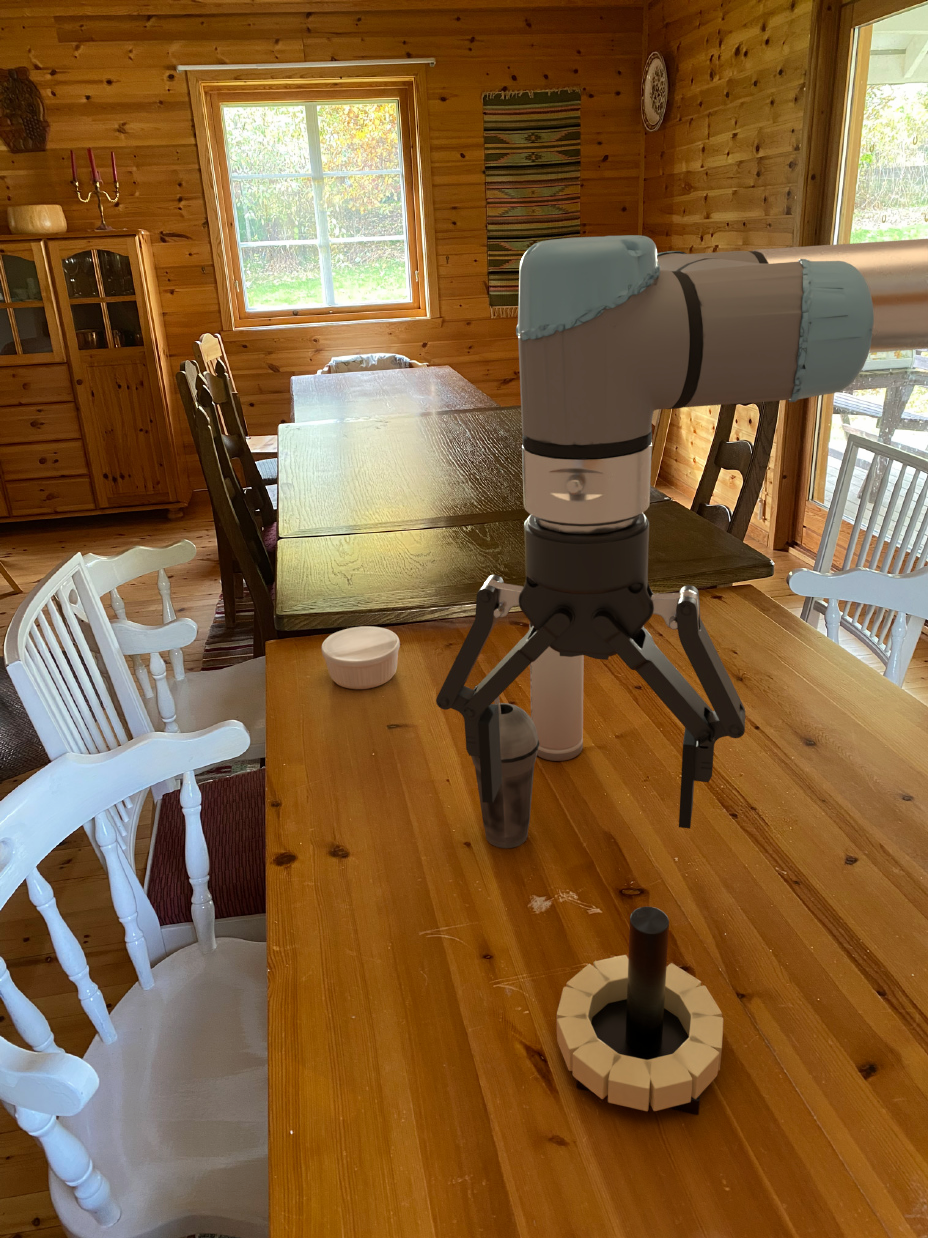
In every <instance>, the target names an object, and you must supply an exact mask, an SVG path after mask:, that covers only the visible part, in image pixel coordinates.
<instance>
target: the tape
mask: <svg viewBox="0 0 928 1238" xmlns="http://www.w3.org/2000/svg"><path fill="white" fill-rule="evenodd" d="M628 958H629V957H628V955H626V954H622V955H619V956H613V957H609V958H604V959H599V960H596V961H595V960H594V961H593V965H592V964H590V963H589V964H587V965H586V966H584V968H582V969H581V970H580V971H579V972H577V974H575V975H574V976H573V977H571V979H569V980H568V981H567V982H566V986H563V987H562V991H561V996H560V999H559V1002H558V1003H559V1004H558V1008H557V1010H556V1041H557V1044H558V1047H559V1049H560V1052H561V1055H562V1057H563V1060H564V1063H565V1064H566V1068H567V1070H568V1072H572V1077H573V1078H575V1080H576V1081H577V1080H579V1081H580V1082H581V1083H582V1084H584V1085H585V1086H586V1087H587V1088H589V1089H590V1090H591V1091H590V1092H592V1093H594V1094H595V1095H596V1096H597V1097H598V1098H600V1099H601V1100H604V1099H605V1098H606V1097H607V1103H609V1104H614V1105H617V1106H623V1107H627V1108H630V1109H635V1110H639V1111H644V1112H648V1111H649V1106H651V1108H652V1110H653V1112H657V1111H662V1110H665V1109H670V1108H669V1107H673V1106H677V1105H681V1104H685V1103H689V1102H691V1097H693V1098H694V1099H696V1098H697V1097H698V1096H699V1095H700V1096H701V1094H702V1093H703V1092H704V1091H705V1090H706V1089H707V1088H708V1087H709V1085H710V1084H711V1083H712V1082H713V1081H714V1080H715V1079H716V1078H717V1077H718V1074H719V1071H721V1062H722V1061H721V1060H722V1051H723V1050H722V1049H723V1037H724V1036H723V1034H724V1017H723V1012H722V1011H721V1009H720V1008H719V1006H718V1004H717V1002H716V1001H715V999H714V998H713V996H712V994H711V993H710V991H709V990H708V988H707V986H706V985H702V981H701V980H699V979H698V978H696V977H694V975H691V973H688V972H687V971H685V970H684V969H682V968H680V967H679V966H677V965H676V964H674V963H673V962H670V963H669V964H668V965H667V967H666V984H665V1000H664V1008H665V1009H666V1010H668V1011H669V1012H671V1013H672V1014H674V1015H675V1016H677V1017H678V1018H679V1020H680V1022H681V1023H682V1025H683V1027H684V1029H685V1031H686V1032H687V1034H688V1036H689V1038H688V1039H687V1040H686V1041H685V1042H684V1043H683V1044H682V1045H681V1046H680V1047H679V1048H678V1049H677V1050H676V1051H675V1052H674V1053H673V1054H670V1055H666V1056H662V1057H658V1058H654V1059H649V1060H645V1059H640V1058H635V1057H631V1056H626V1055H621V1054H618V1053H617V1052H616V1051H614V1050H613V1049H611V1048H610V1047H609V1046H607V1045H606V1044H605V1043H603V1042H602V1041H601V1040H599V1039H598V1038H597V1036H596V1034H595V1031H594V1029H593V1027H592V1025H591V1021H592V1017H593V1016H594V1015H596V1014H597V1013H598V1012H599V1011H600V1010H601V1009H602V1008H603V1007H604V1006H606V1005H607V1004H608V1003H611V1002H616V1001H620V1000H625V999H627V984H628ZM649 1102H650V1104H649Z"/></svg>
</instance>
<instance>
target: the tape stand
mask: <svg viewBox="0 0 928 1238" xmlns="http://www.w3.org/2000/svg"><path fill="white" fill-rule="evenodd" d="M628 933H629V934H628V957H627V958H628V984H627V999H625V1000H620V1001H616V1002H611V1003H608V1004H607V1005H606V1006H604V1007H603V1008H602V1009H601V1010H600V1011H599V1012H598V1013H597V1014H596V1015H594V1016H593V1017H592V1021H591V1025H592V1027H593V1029H594V1031H595V1034H596V1036H597V1038H598V1039H599V1040H601V1041H602V1042H603V1043H605V1044H606V1045H607V1046H609V1047H610V1048H611V1049H613V1050H614V1051H616V1052H617V1053H618V1054H621V1055H626V1056H631V1057H635V1058H640V1059H645V1060H649V1059H654V1058H658V1057H662V1056H666V1055H670V1054H673V1053H674V1052H675V1051H676V1050H677V1049H678V1048H679V1047H680V1046H681V1045H682V1044H683V1043H684V1042H685V1041H686V1040H687V1039H688V1038H689V1036H688V1034H687V1032H686V1031H685V1029H684V1027H683V1025H682V1023H681V1022H680V1020H679V1018H678V1017H677V1016H675V1015H674V1014H672V1013H671V1012H669V1011H668V1010H666V1009H665V1008H664V1000H665V984H666V967H667V966H668V965H667V964H668V949H669V933H670V919H669V917H668V915H667V914H666V913H665V912H664V911H663V910H661V909H659V908H657V907H653V906H641V907H638V908H636V909H633V911H632V913H631V914H630V916H629V932H628ZM576 1088H577V1089H578V1090H583V1091H588V1092H592V1091H591V1090H590V1089H589V1088H587V1087H586V1086H585V1085H584V1084H582V1083H581V1082H580V1081H579V1080H577V1079H576ZM700 1101H701V1094H700V1095H699V1096H698V1097H697V1098H696V1099H694V1098H693V1097H691V1102H689V1103H685V1104H681V1105H677V1106H673V1107H669V1108H668V1109H669V1110H674V1111H679V1112H683V1113H688V1114H693V1115H699V1114H700ZM649 1105H651V1104H650V1102H649Z"/></svg>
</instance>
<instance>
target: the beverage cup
mask: <svg viewBox="0 0 928 1238" xmlns="http://www.w3.org/2000/svg"><path fill="white" fill-rule="evenodd" d="M493 703H494V704H497V705H498V707H499V728H500V750H501V771H502V783H501V785H500V788H499V790H498V792H497V795H496V797H495V799H494V801H493V803H485V802H482V786H481V769H480V757H478V756H470V757H471V760H472V764H473V766H474V770H475V775H476V784H477V791H478V798H479V804H480V810H481V818H482V824H483V825H482V826H483V828H484V833H485V838H486V841H487V842H488V843H489V844H491V845H492V846H494V847H496V848H499V849H501V848H502V849H513V848H516V847H517V848H518V847H519V846H521V845H522V844H524V843H525V842H526V841H527V839H528V837H529V827H530V823H531V810H532V798H533V784H534V773H535V772H534V771H535V764H536V760H537V757H538V755H537V752H538V747H539V744H540V743H539V739H538V735H537V731H536V727H535V724H534V722H533V720H532V719H531V715H529V713H527V712H526V711H525V710H524V709H523V708H521V707H520V706H517V705H515V704H511V703H507V702H500V695H499V696H498V697H497V698H496V699H495V700H494V701H493Z"/></svg>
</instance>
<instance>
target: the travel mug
mask: <svg viewBox="0 0 928 1238" xmlns="http://www.w3.org/2000/svg"><path fill="white" fill-rule="evenodd" d="M532 626H533V625H532V624H531V622H530V621H529V630H530V629H531V627H532ZM584 657H585V655H580V656H574V657H566V656H560V653H559V652H557V651H555V650H553V649H552V648H550V647H548V648H547V649H546V650H545V651H544V652H543V653H542V654H541V655H540V656H539V657H538V658H537V659H536V660H535V661H534V662H532V663H531V664H530V665H529V671H530V672H529V674H530V675H529V676H530V717H531V719H532V720H533V722H534V724H535V727H536V731H537V735H538V739H539V743H540V744H539V747H538V752H537V757H539V758H541V759H544V760H546V761H552V762H564V761H569V760H571V759H574V758H577V757H578V756H579V755H580V754H581V753H582V752H583V747H584V738H583V736H584V666H585V665H584V664H585V663H584V661H585V660H584Z"/></svg>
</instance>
